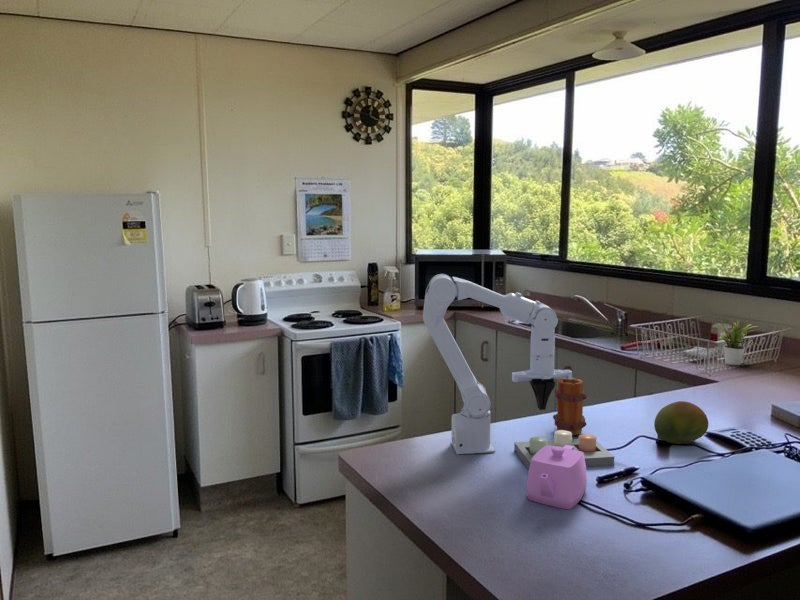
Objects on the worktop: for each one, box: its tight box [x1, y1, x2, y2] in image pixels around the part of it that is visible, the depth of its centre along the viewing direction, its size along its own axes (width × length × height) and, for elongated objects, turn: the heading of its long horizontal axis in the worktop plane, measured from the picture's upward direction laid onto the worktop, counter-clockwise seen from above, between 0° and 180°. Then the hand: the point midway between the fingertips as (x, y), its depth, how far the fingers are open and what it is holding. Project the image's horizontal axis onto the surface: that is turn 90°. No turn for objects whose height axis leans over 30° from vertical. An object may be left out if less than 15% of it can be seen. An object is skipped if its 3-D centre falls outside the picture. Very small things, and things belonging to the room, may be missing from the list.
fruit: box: [653, 400, 709, 445], centre depth 159 cm, size 12×13×10 cm
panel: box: [513, 438, 615, 470], centre depth 152 cm, size 20×12×2 cm, turn 96°
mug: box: [552, 377, 587, 437], centre depth 169 cm, size 15×8×15 cm, turn 173°
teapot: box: [526, 445, 588, 510], centre depth 131 cm, size 18×10×10 cm, turn 148°
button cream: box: [553, 430, 573, 448], centre depth 151 cm, size 4×4×4 cm
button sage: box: [529, 436, 548, 455], centre depth 151 cm, size 4×4×4 cm
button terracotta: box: [578, 433, 597, 452], centre depth 152 cm, size 4×4×4 cm
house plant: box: [717, 319, 759, 366], centre depth 233 cm, size 14×14×16 cm
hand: (541, 408), depth 157 cm, fingers closed
